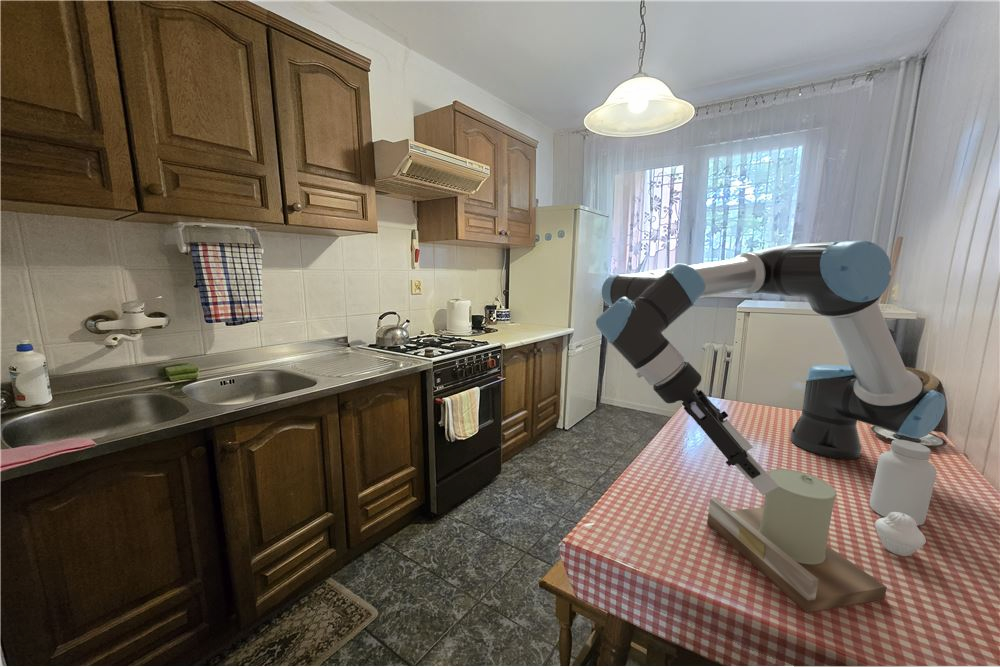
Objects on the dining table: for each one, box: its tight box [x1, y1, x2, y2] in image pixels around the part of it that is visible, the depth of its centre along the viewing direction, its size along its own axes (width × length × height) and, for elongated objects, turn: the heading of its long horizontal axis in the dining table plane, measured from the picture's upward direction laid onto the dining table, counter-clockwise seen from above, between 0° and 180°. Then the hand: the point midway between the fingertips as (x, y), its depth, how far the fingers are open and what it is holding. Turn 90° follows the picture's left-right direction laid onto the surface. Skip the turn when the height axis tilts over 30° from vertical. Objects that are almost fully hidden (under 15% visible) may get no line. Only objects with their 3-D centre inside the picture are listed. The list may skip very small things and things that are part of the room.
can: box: [759, 468, 837, 565], centre depth 65 cm, size 9×9×12 cm
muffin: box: [874, 512, 927, 557], centre depth 67 cm, size 6×6×7 cm
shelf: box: [707, 497, 888, 614], centre depth 66 cm, size 14×20×5 cm
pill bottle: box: [869, 439, 937, 527], centre depth 77 cm, size 8×8×15 cm
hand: (757, 468), depth 65 cm, fingers open, 13 cm apart
